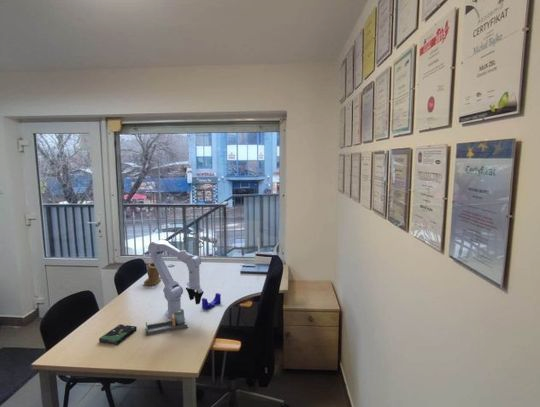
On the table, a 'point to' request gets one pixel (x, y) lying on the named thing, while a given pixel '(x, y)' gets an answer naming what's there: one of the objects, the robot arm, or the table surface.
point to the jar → (179, 317)
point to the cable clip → (211, 304)
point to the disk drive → (117, 334)
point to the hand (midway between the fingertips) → (194, 301)
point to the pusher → (173, 320)
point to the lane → (162, 327)
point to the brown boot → (152, 275)
